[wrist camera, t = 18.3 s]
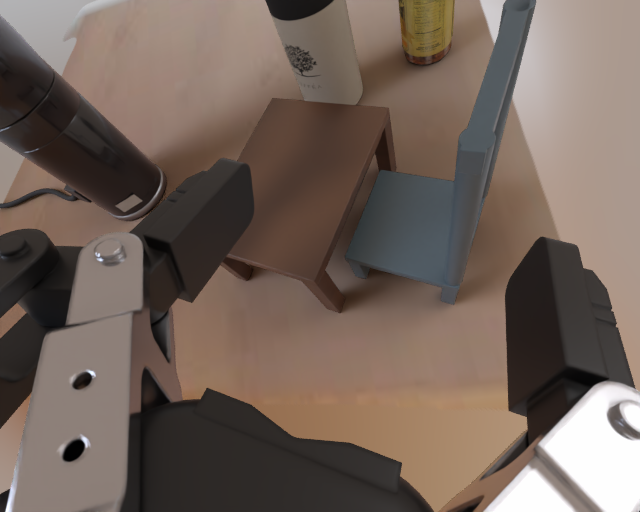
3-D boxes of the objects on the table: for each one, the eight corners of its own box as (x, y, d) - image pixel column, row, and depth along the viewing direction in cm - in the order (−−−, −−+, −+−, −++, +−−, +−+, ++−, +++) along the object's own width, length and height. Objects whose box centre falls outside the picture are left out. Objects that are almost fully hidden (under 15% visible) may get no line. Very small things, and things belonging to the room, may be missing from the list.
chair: (353, 276, 36) (277, 129, 18) (385, 196, 39) (347, 0, 21) (456, 306, 32) (490, 155, 14) (482, 214, 35) (539, -9, 17)
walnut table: (237, 277, 40) (190, 242, 32) (299, 153, 45) (272, 97, 38) (340, 313, 35) (314, 281, 27) (396, 168, 40) (388, 107, 32)
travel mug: (337, 68, 50) (295, -91, 35) (375, 90, 46) (348, -79, 31) (296, 103, 50) (234, -44, 34) (331, 128, 46) (280, -25, 30)
